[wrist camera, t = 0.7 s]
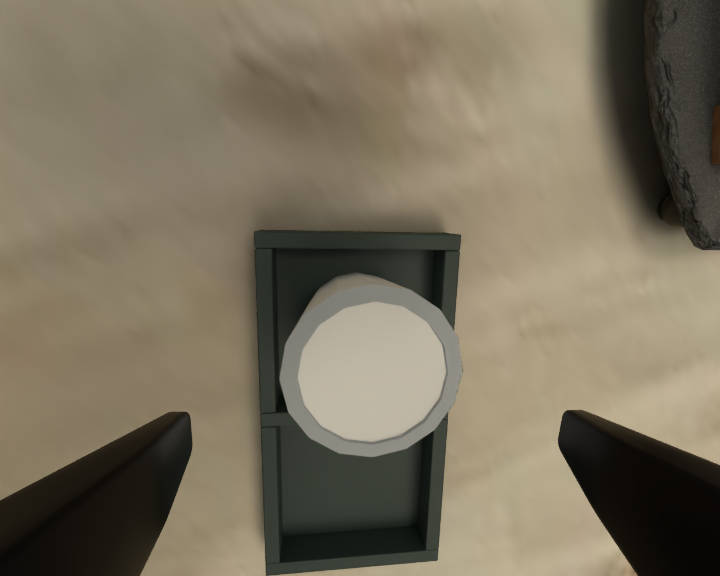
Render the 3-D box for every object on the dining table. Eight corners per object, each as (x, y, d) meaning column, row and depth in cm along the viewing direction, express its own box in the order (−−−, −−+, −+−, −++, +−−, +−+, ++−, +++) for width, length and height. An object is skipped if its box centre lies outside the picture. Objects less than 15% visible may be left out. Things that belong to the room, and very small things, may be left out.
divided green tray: (427, 531, 24) (437, 561, 21) (270, 543, 22) (265, 576, 20) (447, 233, 20) (461, 234, 18) (261, 229, 19) (253, 231, 17)
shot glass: (355, 234, 19) (375, 242, 12) (440, 319, 20) (500, 370, 14) (266, 324, 19) (237, 382, 13) (355, 402, 21) (372, 491, 14)
